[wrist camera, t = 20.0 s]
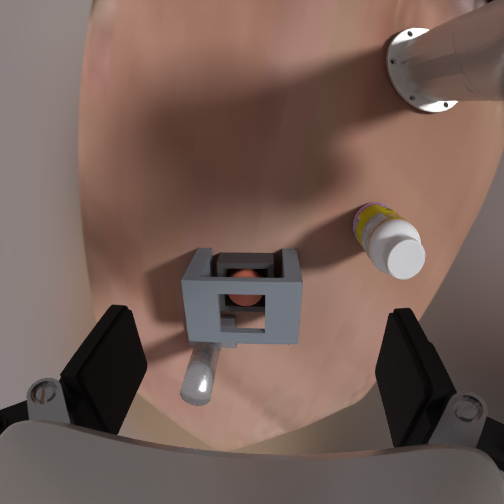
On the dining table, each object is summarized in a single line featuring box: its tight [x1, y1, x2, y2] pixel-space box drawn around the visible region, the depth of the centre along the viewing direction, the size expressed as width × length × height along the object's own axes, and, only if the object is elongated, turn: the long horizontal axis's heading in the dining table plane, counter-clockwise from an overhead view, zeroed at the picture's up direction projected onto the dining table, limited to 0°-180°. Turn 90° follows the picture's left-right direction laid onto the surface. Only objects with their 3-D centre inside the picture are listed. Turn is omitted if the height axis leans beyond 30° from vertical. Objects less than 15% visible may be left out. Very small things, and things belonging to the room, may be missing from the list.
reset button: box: [228, 268, 263, 306], centre depth 45 cm, size 5×5×3 cm
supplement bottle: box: [353, 202, 425, 279], centre depth 37 cm, size 7×7×13 cm
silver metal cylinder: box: [180, 341, 222, 406], centre depth 45 cm, size 4×4×14 cm
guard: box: [181, 248, 303, 344], centre depth 43 cm, size 14×9×10 cm, turn 91°
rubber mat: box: [185, 315, 237, 348], centre depth 51 cm, size 8×6×1 cm
